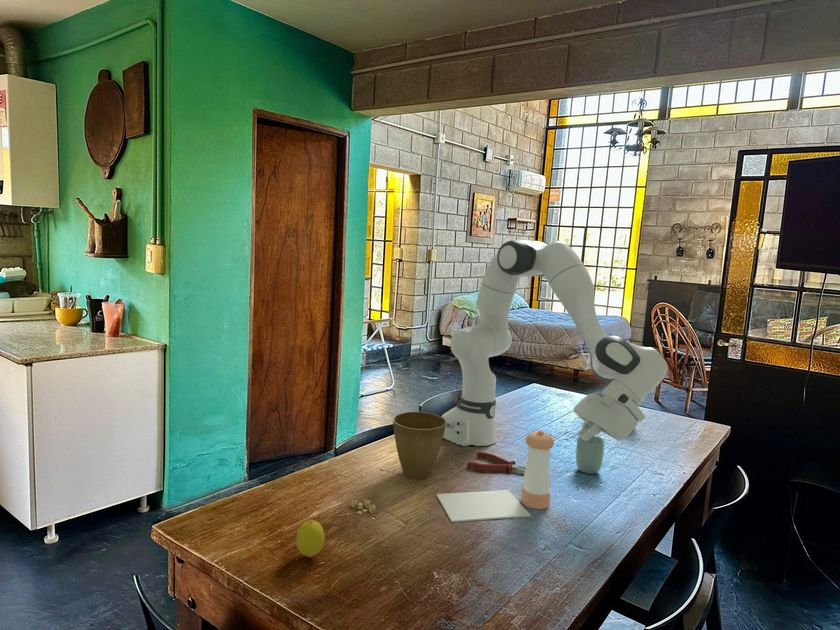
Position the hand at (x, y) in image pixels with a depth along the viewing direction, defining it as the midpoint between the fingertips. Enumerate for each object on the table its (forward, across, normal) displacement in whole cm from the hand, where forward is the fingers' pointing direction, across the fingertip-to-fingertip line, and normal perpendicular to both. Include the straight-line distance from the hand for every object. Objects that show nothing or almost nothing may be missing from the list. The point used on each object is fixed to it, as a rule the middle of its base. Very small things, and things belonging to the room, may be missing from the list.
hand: (581, 437), depth 143 cm
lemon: (+61, +16, -37) cm, 73 cm away
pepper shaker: (+20, 0, +4) cm, 21 cm away
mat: (+30, 0, -7) cm, 31 cm away
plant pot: (+39, -21, -15) cm, 47 cm away
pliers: (+22, -22, +3) cm, 31 cm away
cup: (+3, -17, +22) cm, 28 cm away
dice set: (+52, -3, -27) cm, 58 cm away
